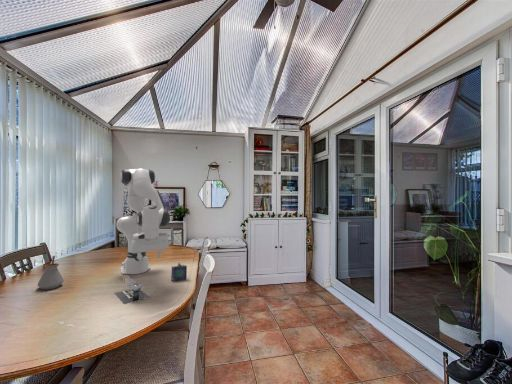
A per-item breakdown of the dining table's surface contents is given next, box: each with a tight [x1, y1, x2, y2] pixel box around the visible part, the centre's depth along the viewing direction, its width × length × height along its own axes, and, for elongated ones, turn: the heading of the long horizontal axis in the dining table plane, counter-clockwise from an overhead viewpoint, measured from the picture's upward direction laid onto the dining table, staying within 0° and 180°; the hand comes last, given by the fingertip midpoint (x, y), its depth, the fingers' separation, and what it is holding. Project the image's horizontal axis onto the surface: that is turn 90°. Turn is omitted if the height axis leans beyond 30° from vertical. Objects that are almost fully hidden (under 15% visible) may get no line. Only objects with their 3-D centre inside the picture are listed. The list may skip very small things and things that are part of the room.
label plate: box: [122, 288, 133, 295], centre depth 130 cm, size 5×5×1 cm
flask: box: [170, 262, 188, 282], centre depth 153 cm, size 9×3×11 cm, turn 109°
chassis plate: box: [114, 288, 150, 305], centre depth 127 cm, size 18×12×1 cm, turn 44°
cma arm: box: [122, 274, 142, 292], centre depth 127 cm, size 20×4×3 cm, turn 44°
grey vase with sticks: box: [37, 255, 64, 291], centre depth 143 cm, size 21×12×15 cm, turn 36°
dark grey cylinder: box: [133, 291, 140, 302], centre depth 122 cm, size 3×3×4 cm
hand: (150, 258), depth 135 cm, fingers open, 8 cm apart
